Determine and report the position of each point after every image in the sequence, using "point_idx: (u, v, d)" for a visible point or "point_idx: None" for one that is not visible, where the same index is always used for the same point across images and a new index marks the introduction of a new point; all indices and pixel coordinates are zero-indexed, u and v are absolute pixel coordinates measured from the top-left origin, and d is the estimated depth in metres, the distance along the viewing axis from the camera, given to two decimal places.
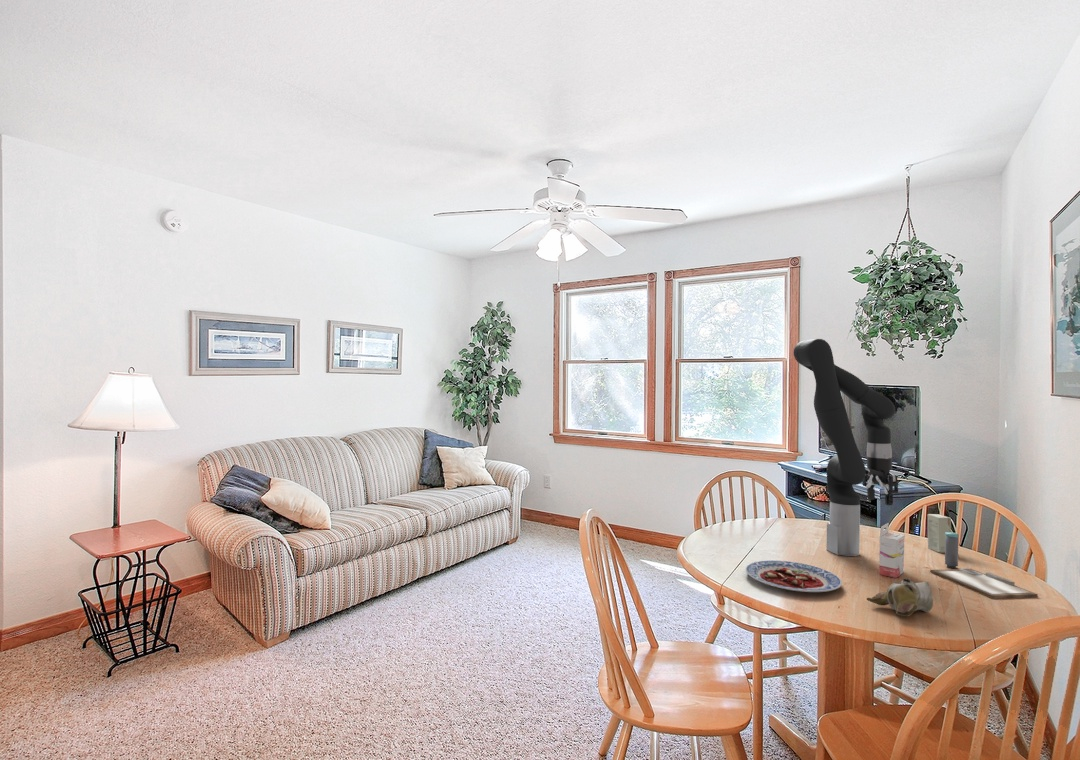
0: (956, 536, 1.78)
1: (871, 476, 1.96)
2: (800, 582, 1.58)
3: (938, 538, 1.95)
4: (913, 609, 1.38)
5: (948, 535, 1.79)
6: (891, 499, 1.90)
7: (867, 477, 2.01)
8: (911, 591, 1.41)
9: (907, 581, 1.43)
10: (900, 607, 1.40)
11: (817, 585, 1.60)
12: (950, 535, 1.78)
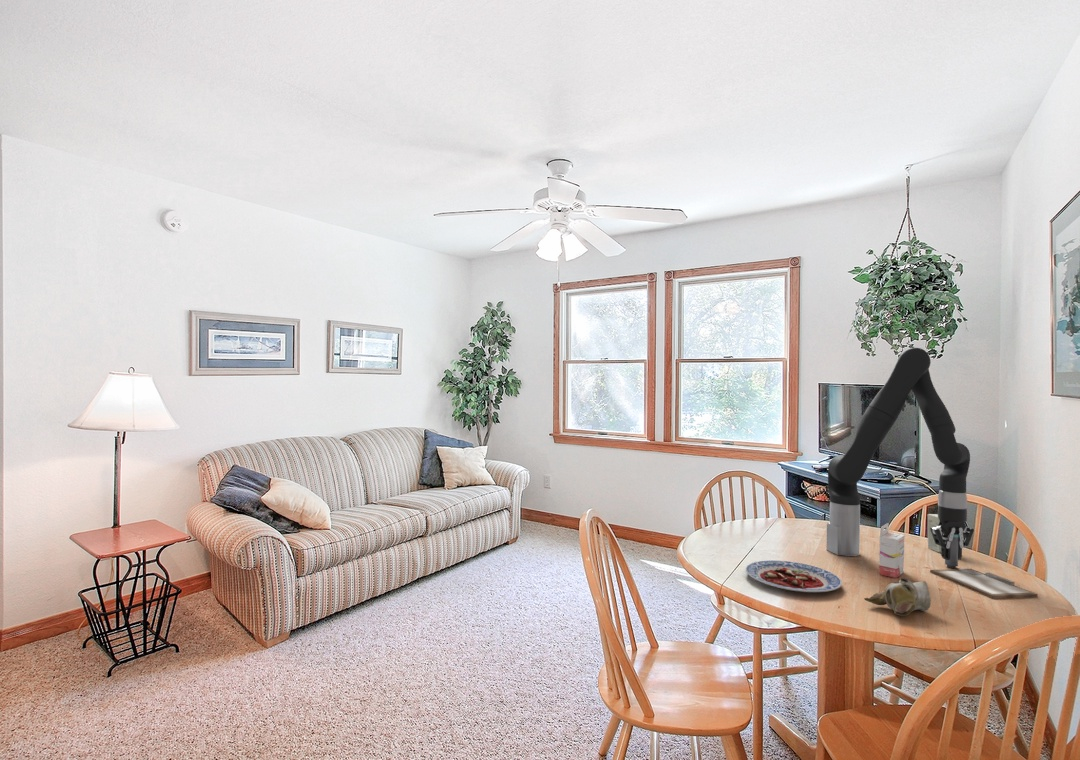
0: (956, 536, 1.78)
1: (953, 530, 1.77)
2: (800, 582, 1.58)
3: None
4: (911, 609, 1.38)
5: None
6: None
7: None
8: (909, 591, 1.41)
9: (905, 581, 1.43)
10: (898, 607, 1.40)
11: (817, 585, 1.60)
12: None
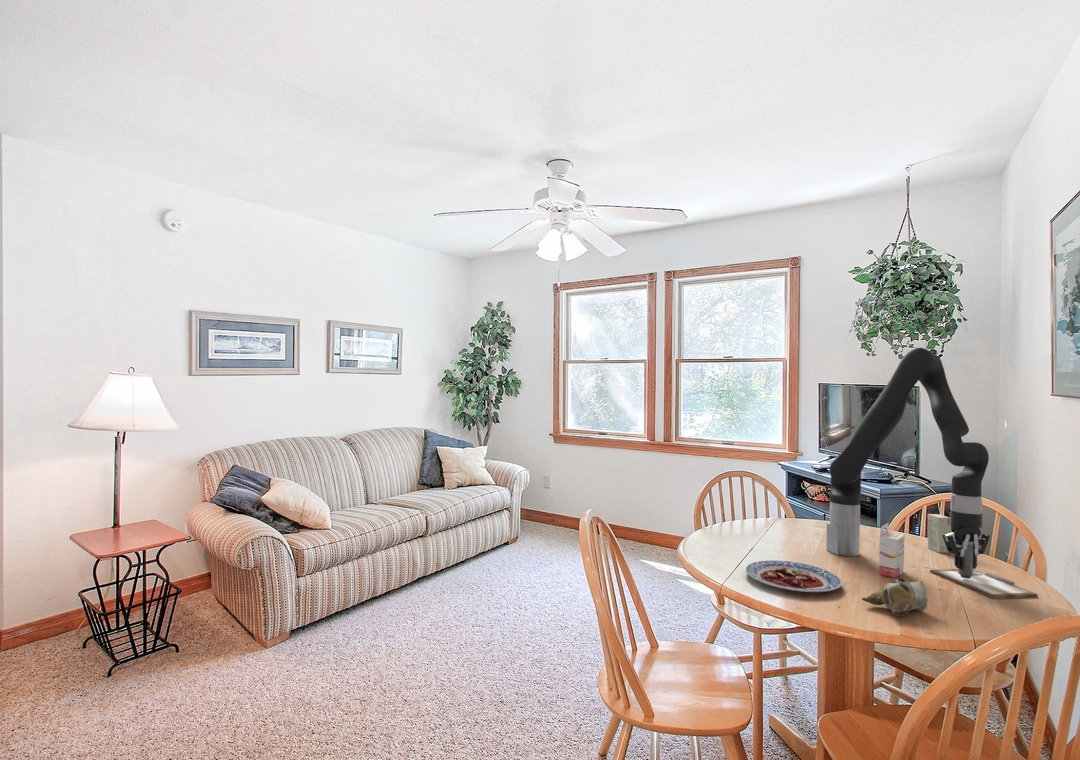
0: (971, 543, 1.64)
1: (967, 537, 1.63)
2: (800, 582, 1.58)
3: (938, 538, 1.95)
4: (909, 609, 1.39)
5: None
6: None
7: None
8: (907, 591, 1.42)
9: (902, 581, 1.44)
10: (896, 607, 1.40)
11: (817, 585, 1.60)
12: None
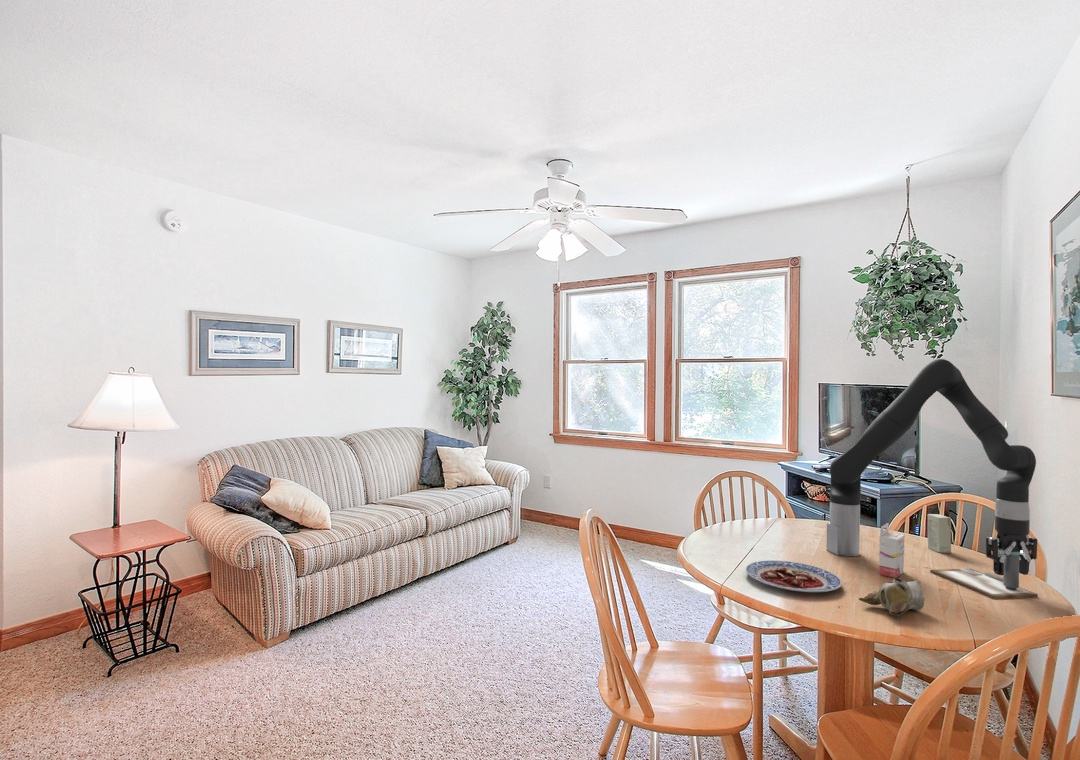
0: (1017, 554, 1.57)
1: (1013, 544, 1.56)
2: (800, 582, 1.58)
3: (938, 538, 1.95)
4: (906, 609, 1.39)
5: None
6: None
7: None
8: (904, 591, 1.42)
9: (899, 580, 1.44)
10: (893, 607, 1.40)
11: (817, 585, 1.60)
12: (1010, 553, 1.57)
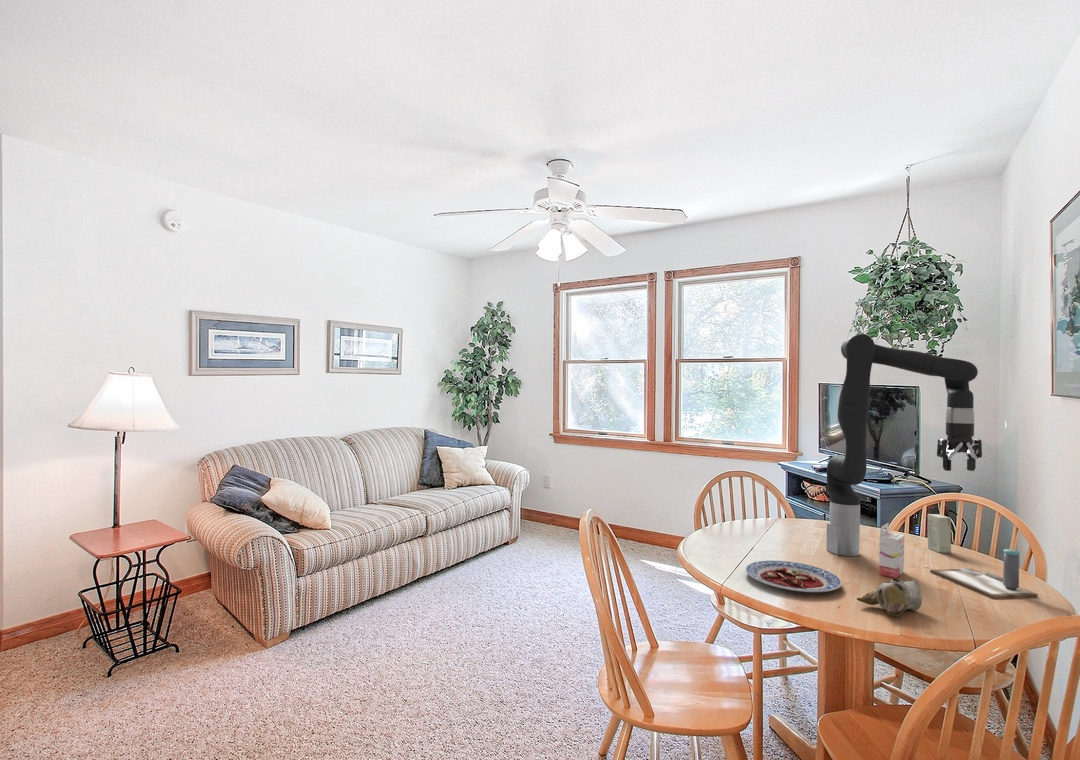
0: (1017, 554, 1.57)
1: (960, 444, 1.83)
2: (800, 582, 1.58)
3: (938, 538, 1.95)
4: (904, 608, 1.39)
5: (1008, 553, 1.58)
6: None
7: None
8: (901, 591, 1.42)
9: (896, 580, 1.44)
10: (891, 607, 1.40)
11: (817, 585, 1.60)
12: (1010, 553, 1.57)
